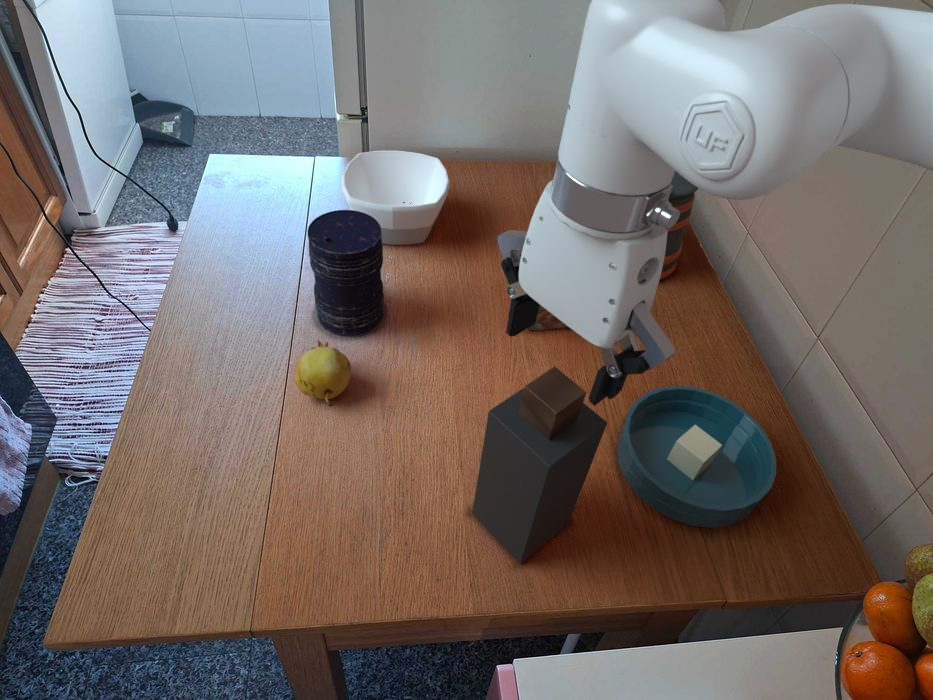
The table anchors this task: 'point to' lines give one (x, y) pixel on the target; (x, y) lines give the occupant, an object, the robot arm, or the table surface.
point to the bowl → (397, 192)
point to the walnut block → (551, 402)
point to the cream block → (694, 452)
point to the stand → (531, 476)
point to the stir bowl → (722, 483)
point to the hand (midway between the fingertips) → (559, 360)
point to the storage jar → (347, 271)
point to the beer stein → (683, 202)
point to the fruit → (322, 372)
